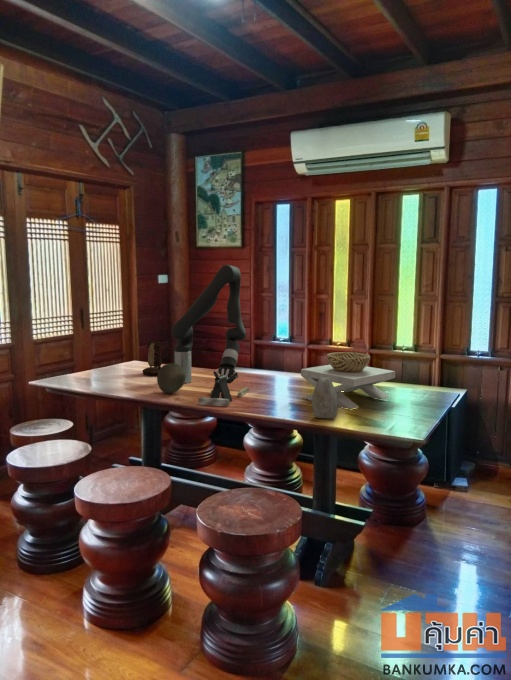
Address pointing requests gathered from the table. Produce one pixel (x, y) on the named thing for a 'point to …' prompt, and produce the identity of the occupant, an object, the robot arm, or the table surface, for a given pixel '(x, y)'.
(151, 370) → the oval plaque on stand
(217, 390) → the phone stand
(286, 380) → the table surface
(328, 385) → the decorative stone
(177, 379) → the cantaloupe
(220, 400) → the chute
